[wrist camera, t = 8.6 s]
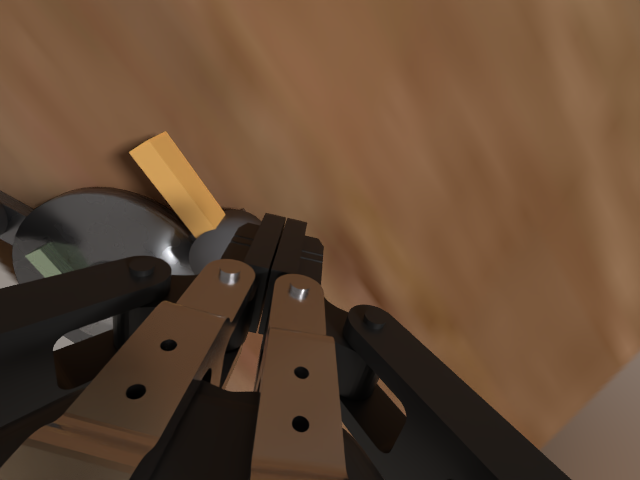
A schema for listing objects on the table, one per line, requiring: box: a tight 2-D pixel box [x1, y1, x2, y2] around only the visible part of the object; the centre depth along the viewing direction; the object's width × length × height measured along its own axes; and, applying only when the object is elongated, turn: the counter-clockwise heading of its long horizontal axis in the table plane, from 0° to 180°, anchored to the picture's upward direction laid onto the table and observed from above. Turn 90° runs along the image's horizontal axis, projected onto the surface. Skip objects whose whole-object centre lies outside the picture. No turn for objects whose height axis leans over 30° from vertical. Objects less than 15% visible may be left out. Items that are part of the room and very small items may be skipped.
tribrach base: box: [0, 187, 246, 343], centre depth 26 cm, size 21×19×4 cm
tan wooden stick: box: [129, 131, 261, 275], centre depth 22 cm, size 10×4×3 cm, turn 29°
